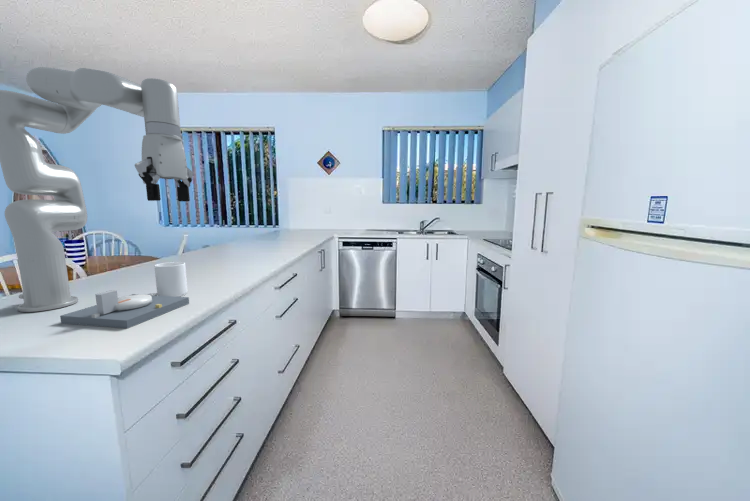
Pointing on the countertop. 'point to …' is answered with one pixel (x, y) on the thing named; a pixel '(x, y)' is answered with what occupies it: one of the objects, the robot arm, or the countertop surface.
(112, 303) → the dial
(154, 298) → the panel
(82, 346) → the countertop surface
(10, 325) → the countertop surface
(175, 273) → the mug
